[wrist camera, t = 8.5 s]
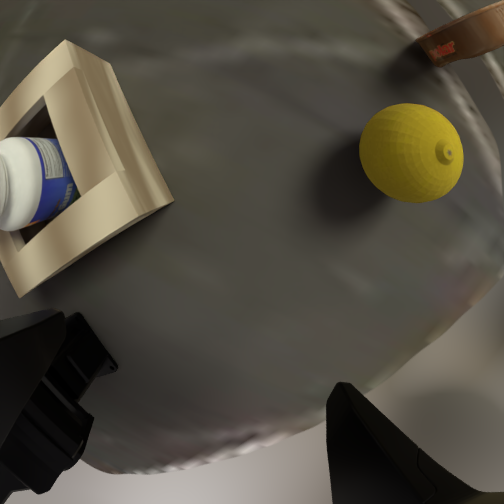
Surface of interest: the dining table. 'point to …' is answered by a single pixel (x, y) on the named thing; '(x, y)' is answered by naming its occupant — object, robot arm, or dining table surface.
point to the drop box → (79, 163)
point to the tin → (466, 36)
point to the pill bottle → (33, 182)
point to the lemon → (411, 153)
